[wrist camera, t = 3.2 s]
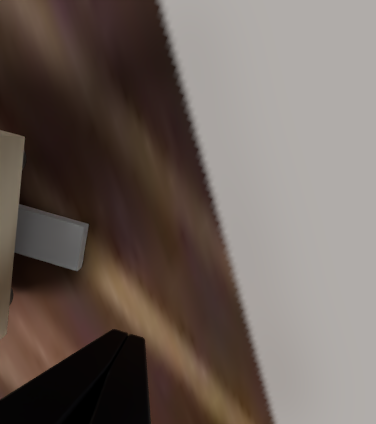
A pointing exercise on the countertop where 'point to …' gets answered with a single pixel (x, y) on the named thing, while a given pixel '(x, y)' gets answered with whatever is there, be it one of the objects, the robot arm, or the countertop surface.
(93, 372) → the robot arm
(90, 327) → the countertop surface
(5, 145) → the beige hollow block
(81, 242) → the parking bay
